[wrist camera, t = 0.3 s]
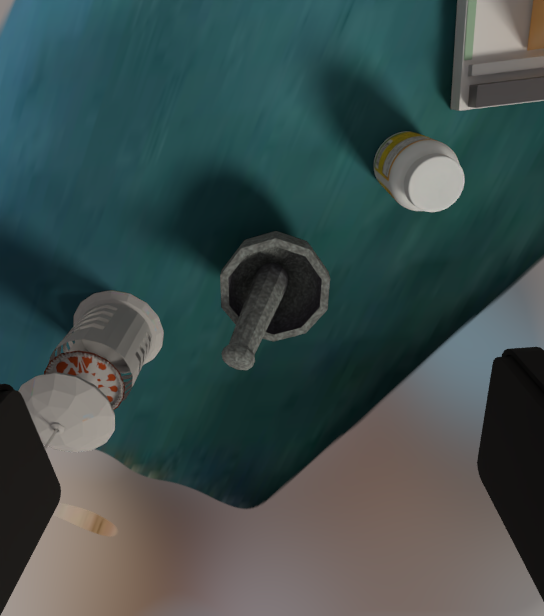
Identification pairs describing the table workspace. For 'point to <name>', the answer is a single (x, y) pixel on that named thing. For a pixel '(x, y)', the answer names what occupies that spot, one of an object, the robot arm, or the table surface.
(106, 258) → the table surface
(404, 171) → the supplement bottle
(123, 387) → the french press
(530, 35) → the orange rectangular block
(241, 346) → the mortar and pestle
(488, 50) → the breaker panel
